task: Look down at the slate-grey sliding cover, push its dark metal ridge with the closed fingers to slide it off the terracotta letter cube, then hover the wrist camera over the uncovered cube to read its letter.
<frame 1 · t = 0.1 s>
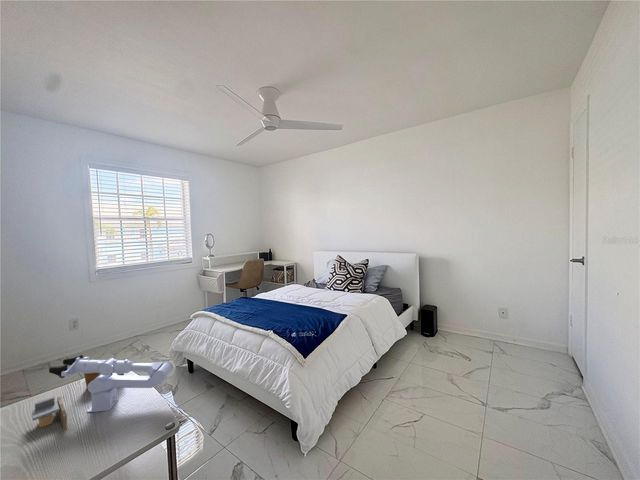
hand: (56, 365, 124), 22 cm above the table, tool horizontal, fingers open, 7 cm apart
disposable coffee cup: (94, 387, 143), on the table
ink box: (113, 387, 143), on the table
slate cover: (45, 407, 116), point 7 cm above the table, slide at 0.0 cm
walnut track wall: (45, 422, 116), on the table
letter cube: (45, 423, 116), on the table
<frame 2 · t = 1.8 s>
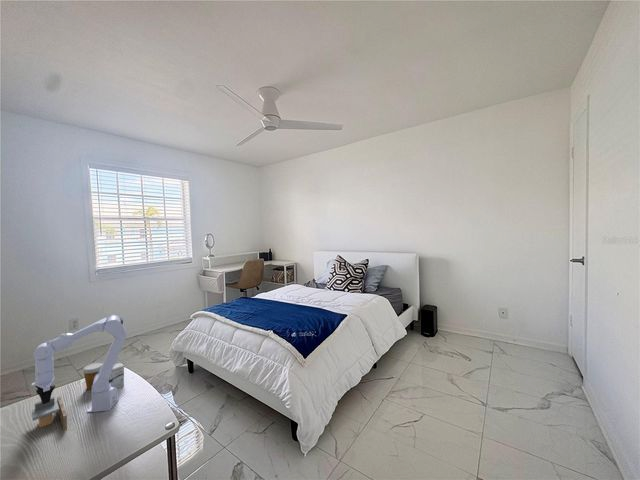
hand: (45, 400, 116), 10 cm above the table, tool pointing down, fingers open, 5 cm apart
nothing on the table moved.
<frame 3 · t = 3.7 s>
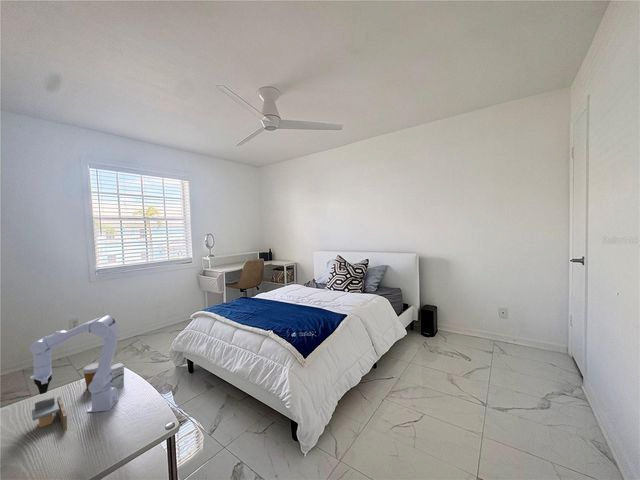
hand: (43, 392, 121), 10 cm above the table, tool pointing down, fingers closed
nothing on the table moved.
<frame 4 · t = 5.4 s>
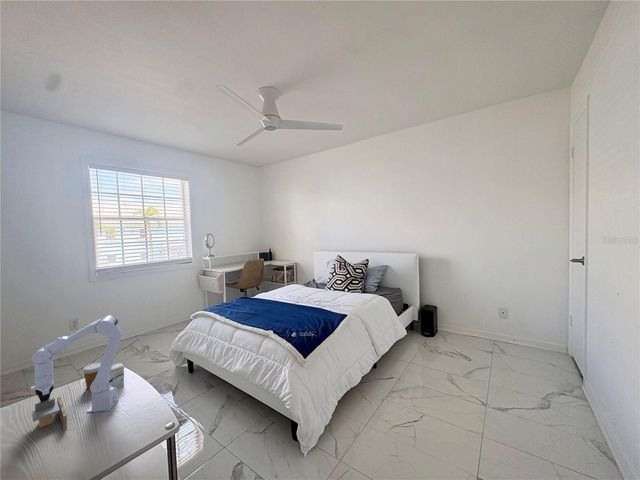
hand: (44, 403, 118), 7 cm above the table, tool pointing down, fingers closed
slate cover: (45, 408, 115), point 7 cm above the table, slide at 1.1 cm, touching gripper
everything else where it was.
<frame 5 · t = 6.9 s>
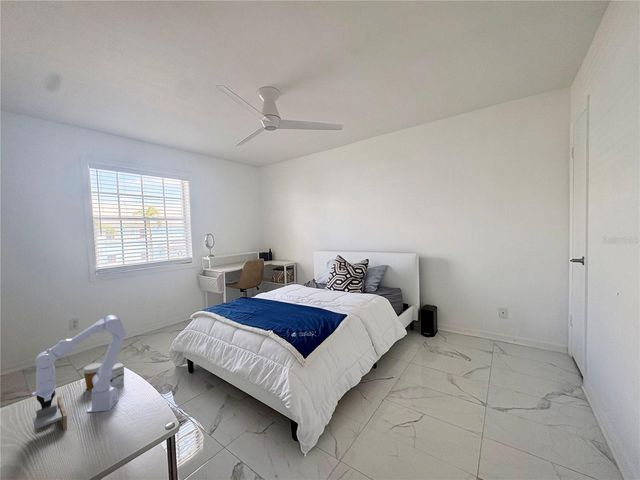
hand: (46, 409, 114), 7 cm above the table, tool pointing down, fingers closed
slate cover: (47, 415, 111), point 7 cm above the table, slide at 7.6 cm, touching gripper
everything else where it was.
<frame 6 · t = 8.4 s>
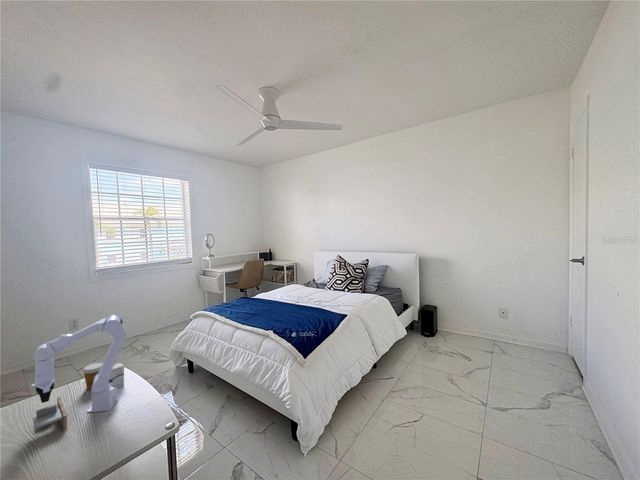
hand: (45, 401, 116), 10 cm above the table, tool pointing down, fingers closed
slate cover: (47, 415, 111), point 7 cm above the table, slide at 7.6 cm
everything else where it was.
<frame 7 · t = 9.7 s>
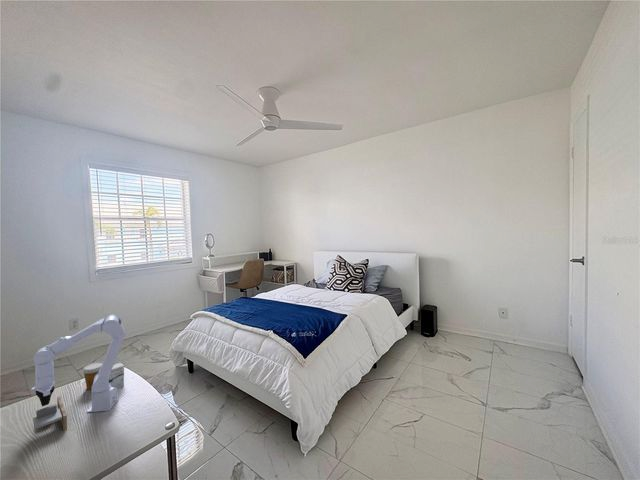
hand: (45, 404, 116), 8 cm above the table, tool pointing down, fingers closed
nothing on the table moved.
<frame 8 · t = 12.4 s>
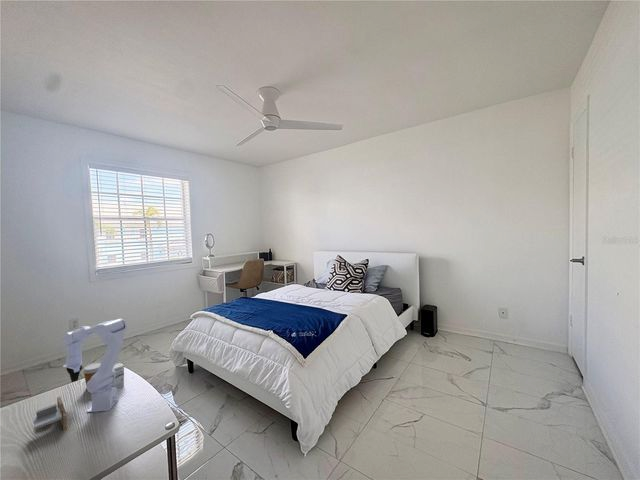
hand: (74, 380, 131), 10 cm above the table, tool pointing down, fingers closed
nothing on the table moved.
at the end: slate cover slide at 7.6 cm; letter cube moved 0.1 cm from its start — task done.
